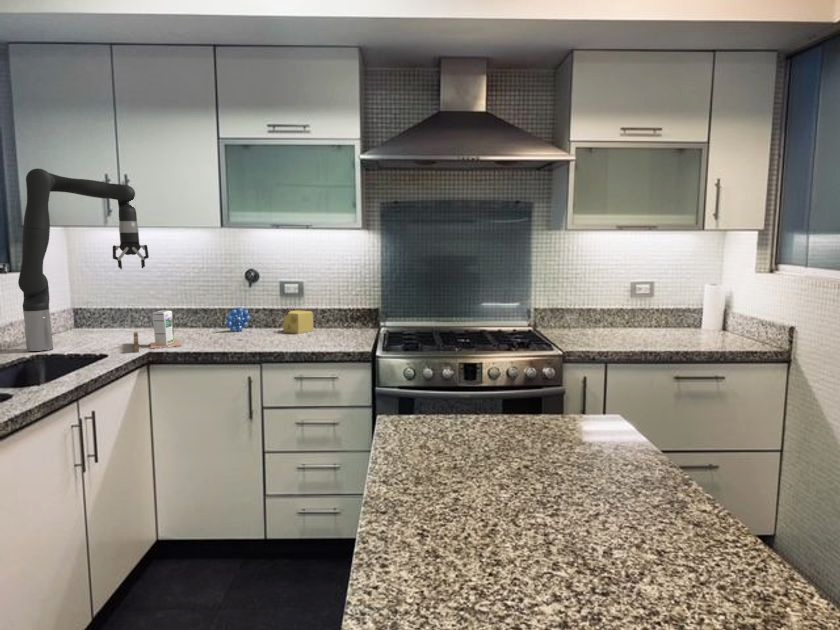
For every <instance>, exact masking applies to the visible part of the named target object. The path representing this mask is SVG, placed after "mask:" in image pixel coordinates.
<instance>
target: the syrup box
mask: <svg viewBox="0 0 840 630" xmlns="http://www.w3.org/2000/svg"><path fill="white" fill-rule="evenodd" d="M152 323H153V331H154V342H155V344H156V345H168V344H172V343H174V342H175V341H176V340H175V334H174V333H175V331H174V321H173V311H172V310H168V309H167V310H166V309H165V310H163V309H162V310H159V311H155V312H152Z"/></svg>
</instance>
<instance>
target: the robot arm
mask: <svg viewBox="0 0 840 630" xmlns="http://www.w3.org/2000/svg"><path fill="white" fill-rule="evenodd" d="M25 176H26V177H25V183H26V184H25V186H26V206H25V211H24V217H23V224H22V226H23V227H22V240H21V241H22V243H21V244H22V245H21V248H22V249H21V250H22V251H21V253H22V256H21V257H22V260H21V267H20V270H19V271H20V272H19V276H18V281H17V282H18V283H17V285H18V287H19V289H20V291H22V292H23V293H22V294H23V302H22V313H23V321H24V335H25V336H24V337H25V346H26V351H27V350H28V351H40V350H48V349H52V348H53V349H54V342H53V334H52V333H53V331H52V323H51V315H50V314H51V313H50V292H49V291H50V288H49V287H50V286H49V280H48V277H47V276H46V275H45V274H44V260H45V257H46V254H47V250H48V247H49V242H50V232H51V223H50V221H51V220H50V210H49V201H50V194H51V192H54V193H55V192H57V193H58V192H59V193H66V194H67V193H68V194H75V195H80V196H85V197H90V198H97V199H106V200H107V199H109V200H110V199H111V200H116V201H117V206H118V232H119V245H115V244H113V245H112V259H113V260H116V261H117V266H118V267H117V268H119V269H120V270H123V266H122V265H123V264H122V258H123V257H124V255H127V256H130V255H132V256H136V255H137V256H138V257H139V258H140V259H141V260H140V263H141V266H140V267H141V269H144V268H145V266H146V262H145V260H147V259H149V250H148V245H147V244H142V245H141V244H140V236H139V225H138V219H137V218H138V217H137V216H138V215H137V211H136V207H135V208H134V207H132V206H131V205H129V204H128V203H127V202H129V201H131V200H133V199H134V197H135V198H136V191H135V189H134V188H133V187H132V186H130V185H127V184H121V183H109V182H105V181H100V180H93V179H87V178H86V179H85V178H71V177H67V176H61V175H57V174H54V173H51V172H48V171H47V170H45V169H43V168H34V169H31V170H30V171H28V172H27V173H26V175H25ZM119 249H120V250H121V253H120V255H119V256H117V251H118V250H119ZM141 249H142V250H143V251H144V255H142V254H141V253H140V250H141ZM53 349H52V350H53ZM28 351H27V352H28ZM48 351H49V350H48Z"/></svg>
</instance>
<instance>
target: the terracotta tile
mask: <svg viewBox="0 0 840 630" xmlns="http://www.w3.org/2000/svg"><path fill="white" fill-rule="evenodd" d="M174 341H175V342H174V343H172V344H168V345H156V344H155V341H154V342H149V346H150V350H154V349H153V348H157V349H161V348H160V347H168V346H180V347H182V343H181V341H180V340H174Z"/></svg>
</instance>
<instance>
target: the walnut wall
mask: <svg viewBox="0 0 840 630" xmlns="http://www.w3.org/2000/svg"><path fill="white" fill-rule="evenodd" d="M139 346H140V345H139V334H138V331H134V332H133V348H134V350H133V351H134V353H135V352H136V353H140V347H139Z"/></svg>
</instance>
